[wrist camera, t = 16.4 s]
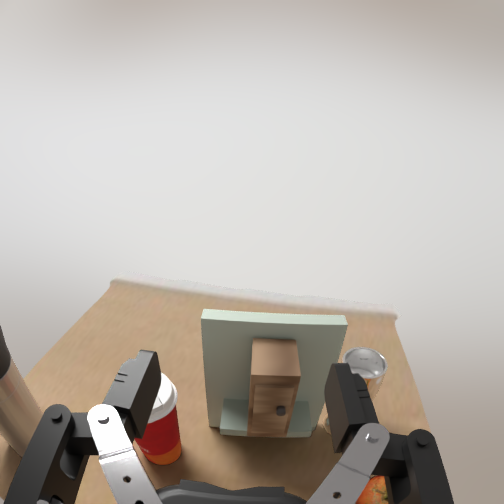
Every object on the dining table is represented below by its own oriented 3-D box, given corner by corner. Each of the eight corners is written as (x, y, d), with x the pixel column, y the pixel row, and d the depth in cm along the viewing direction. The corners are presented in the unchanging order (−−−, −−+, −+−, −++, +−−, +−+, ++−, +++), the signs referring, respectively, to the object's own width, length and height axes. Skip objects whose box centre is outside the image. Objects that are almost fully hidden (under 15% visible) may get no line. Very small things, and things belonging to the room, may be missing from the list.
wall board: (204, 453, 37) (191, 349, 28) (212, 403, 46) (207, 296, 38) (318, 457, 37) (359, 355, 28) (311, 407, 46) (339, 302, 38)
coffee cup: (139, 427, 40) (116, 363, 34) (189, 429, 41) (177, 366, 35) (133, 469, 32) (102, 412, 26) (189, 473, 33) (174, 418, 27)
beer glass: (312, 429, 42) (332, 366, 36) (331, 403, 47) (352, 340, 41) (348, 446, 38) (380, 386, 32) (365, 418, 43) (394, 356, 37)
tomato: (346, 522, 24) (374, 480, 26) (341, 501, 31) (364, 464, 33) (396, 530, 22) (423, 489, 24) (385, 510, 28) (408, 474, 30)
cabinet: (246, 443, 32) (250, 383, 27) (248, 402, 38) (252, 338, 34) (286, 444, 32) (301, 384, 27) (284, 403, 38) (296, 339, 34)
